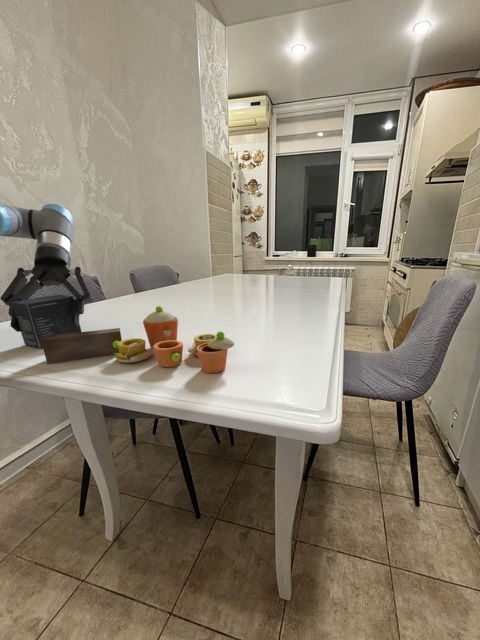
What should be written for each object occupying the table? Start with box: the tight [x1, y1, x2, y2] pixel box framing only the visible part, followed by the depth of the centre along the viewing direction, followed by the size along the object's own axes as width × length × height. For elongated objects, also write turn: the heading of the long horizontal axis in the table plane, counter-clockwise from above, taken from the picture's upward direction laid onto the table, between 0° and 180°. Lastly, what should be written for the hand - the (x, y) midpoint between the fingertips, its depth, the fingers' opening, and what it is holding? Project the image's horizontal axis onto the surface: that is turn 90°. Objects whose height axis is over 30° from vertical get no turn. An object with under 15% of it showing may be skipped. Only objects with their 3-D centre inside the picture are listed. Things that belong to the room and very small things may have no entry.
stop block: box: [41, 327, 123, 365], centre depth 61 cm, size 14×3×5 cm, turn 116°
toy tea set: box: [113, 305, 235, 374], centre depth 60 cm, size 26×16×10 cm, turn 72°
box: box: [11, 294, 82, 349], centre depth 70 cm, size 11×7×10 cm, turn 155°
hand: (46, 326), depth 68 cm, fingers closed on box, 11 cm apart
